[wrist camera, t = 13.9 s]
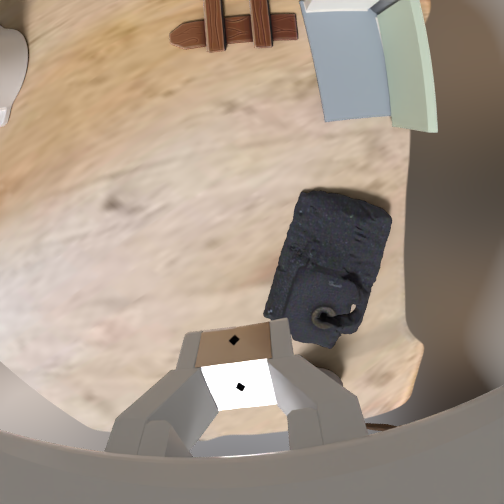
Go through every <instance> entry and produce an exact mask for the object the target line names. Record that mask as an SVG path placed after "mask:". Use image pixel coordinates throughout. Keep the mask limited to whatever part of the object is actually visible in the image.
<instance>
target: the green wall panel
mask: <svg viewBox="0 0 504 504" xmlns="http://www.w3.org/2000/svg"><path fill="white" fill-rule="evenodd" d="M377 17H378V22H379V27H380V33H381V38H382V44H383V50H384V57H385V63H386V71H387V78H388V87H389V96H390V106H391V117H392V126H393V127H400V128H406V129H413V130H418V131H424V132H438V127H437V112H436V100H435V88H434V79H433V72H432V64H431V57H430V51H429V45H428V39H427V33H426V28H425V23H424V19H423V14H422V10H421V5H420V1H419V0H400V1H398V2H397V3H395V4H394V5H392V6H390V7H389V8H388V9H386V10H385V11H383V12H382V13H380V14H379V15H377Z"/></svg>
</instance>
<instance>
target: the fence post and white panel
mask: <svg viewBox="0 0 504 504" xmlns="http://www.w3.org/2000/svg"><path fill="white" fill-rule="evenodd" d="M398 1H400V0H305V1H304V3H305V7H306V10H319V9H369V8H370V9H371V10H372V11H373V12H375V13H377V14H380V13H382V12H383V11H385V10H386V9H388V8H389V7H390V6H392V5H394V4H395V3H397V2H398Z"/></svg>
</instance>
